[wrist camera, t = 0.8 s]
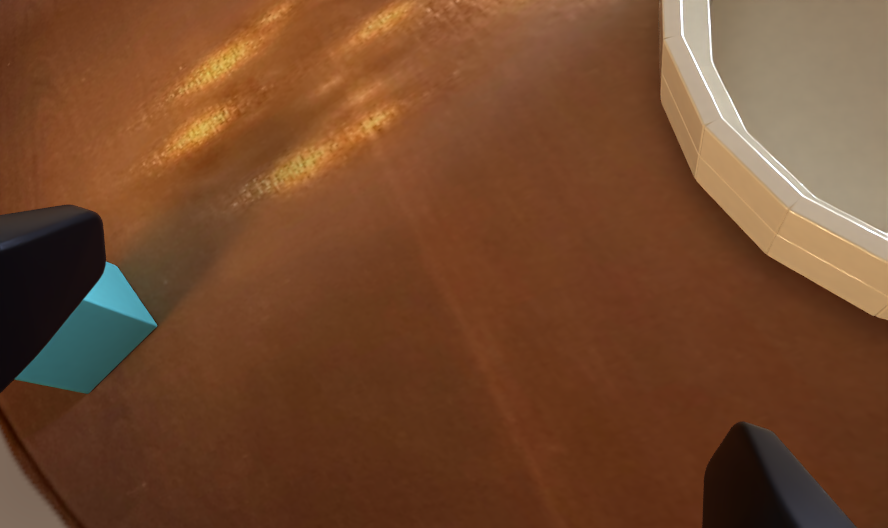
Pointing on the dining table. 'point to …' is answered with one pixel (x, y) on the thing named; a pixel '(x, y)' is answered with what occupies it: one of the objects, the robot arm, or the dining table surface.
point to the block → (93, 337)
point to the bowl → (789, 128)
